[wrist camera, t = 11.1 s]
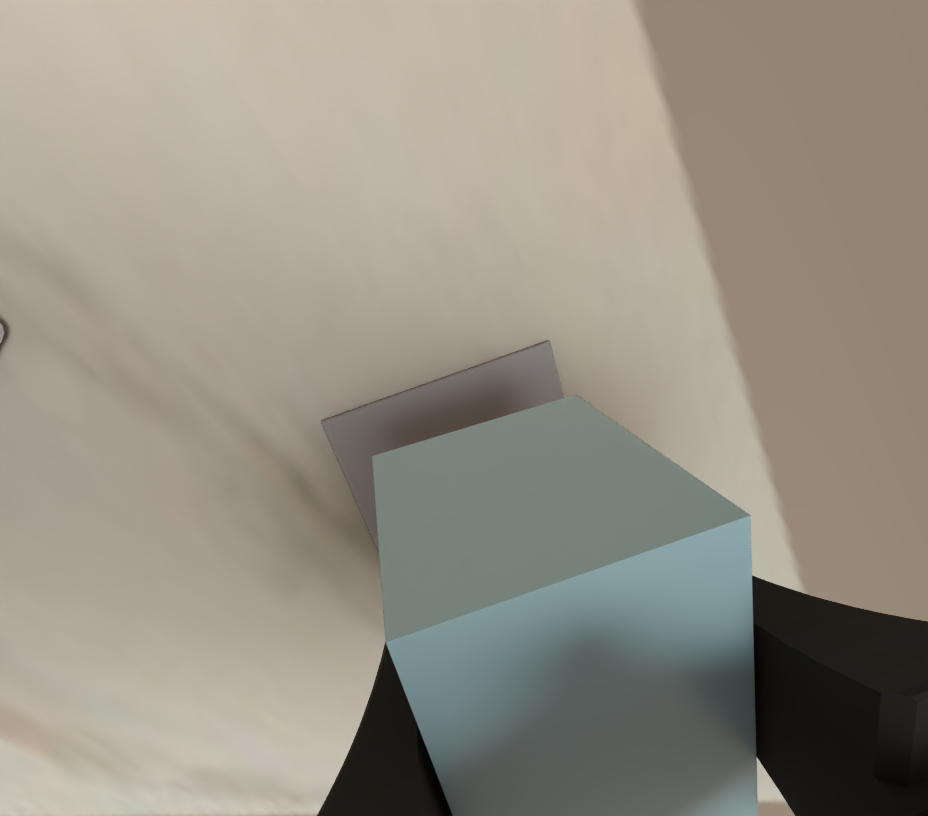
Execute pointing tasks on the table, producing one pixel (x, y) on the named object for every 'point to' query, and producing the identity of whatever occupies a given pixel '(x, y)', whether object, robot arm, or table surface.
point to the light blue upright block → (569, 619)
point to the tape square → (437, 414)
